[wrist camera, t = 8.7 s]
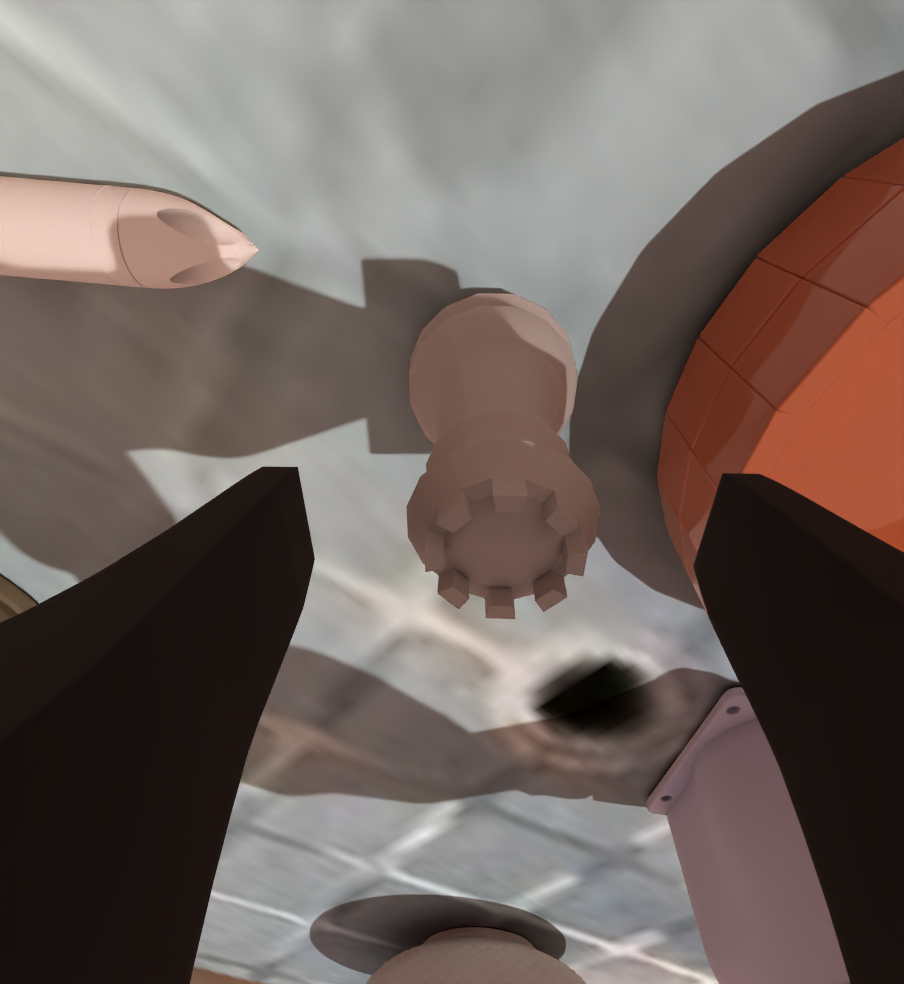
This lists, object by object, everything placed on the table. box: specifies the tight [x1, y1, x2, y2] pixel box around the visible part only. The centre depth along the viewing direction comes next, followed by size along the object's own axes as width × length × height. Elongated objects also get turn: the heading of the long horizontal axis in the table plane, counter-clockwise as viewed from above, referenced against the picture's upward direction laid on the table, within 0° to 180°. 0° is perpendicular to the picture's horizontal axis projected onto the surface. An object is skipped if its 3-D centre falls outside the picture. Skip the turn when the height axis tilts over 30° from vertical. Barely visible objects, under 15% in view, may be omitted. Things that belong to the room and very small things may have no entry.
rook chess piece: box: [407, 293, 601, 619], centre depth 12 cm, size 4×4×8 cm
